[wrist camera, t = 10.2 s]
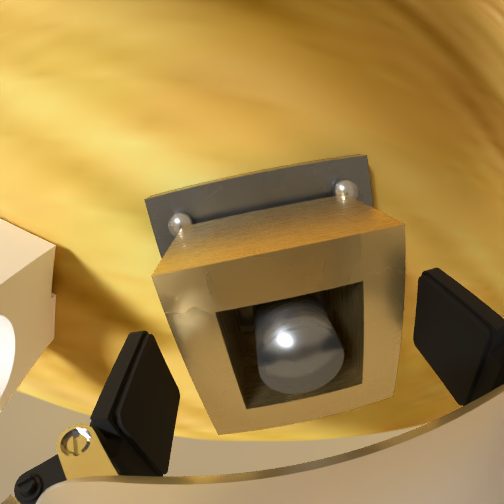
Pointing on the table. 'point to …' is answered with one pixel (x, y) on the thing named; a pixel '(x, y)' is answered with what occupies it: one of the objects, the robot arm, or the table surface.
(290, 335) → the peg base plate
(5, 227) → the bracket
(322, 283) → the collar
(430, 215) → the table surface
